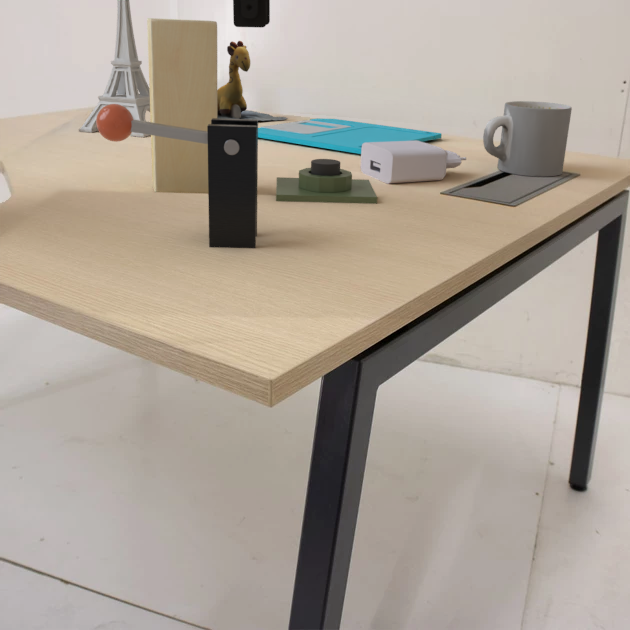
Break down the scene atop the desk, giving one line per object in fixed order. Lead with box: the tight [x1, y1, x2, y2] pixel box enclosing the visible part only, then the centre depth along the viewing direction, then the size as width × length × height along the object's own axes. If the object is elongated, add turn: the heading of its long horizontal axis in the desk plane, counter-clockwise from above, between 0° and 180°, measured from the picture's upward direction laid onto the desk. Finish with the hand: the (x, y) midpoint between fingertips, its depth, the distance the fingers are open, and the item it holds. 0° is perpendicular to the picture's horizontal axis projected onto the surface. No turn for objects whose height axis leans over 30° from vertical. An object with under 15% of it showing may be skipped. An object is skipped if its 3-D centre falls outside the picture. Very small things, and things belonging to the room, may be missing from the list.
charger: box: [360, 140, 467, 185], centre depth 117 cm, size 5×9×15 cm
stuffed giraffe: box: [217, 40, 289, 122], centre depth 168 cm, size 16×18×16 cm
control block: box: [275, 167, 378, 205], centre depth 99 cm, size 12×10×4 cm
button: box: [310, 158, 341, 176], centre depth 98 cm, size 4×4×2 cm
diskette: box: [258, 118, 442, 155], centre depth 149 cm, size 26×28×1 cm
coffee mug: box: [482, 100, 573, 178], centre depth 123 cm, size 13×10×10 cm
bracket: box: [207, 118, 259, 249], centre depth 76 cm, size 12×9×13 cm
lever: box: [96, 104, 208, 144], centre depth 74 cm, size 14×3×3 cm, turn 92°
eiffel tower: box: [78, 0, 151, 138], centre depth 145 cm, size 13×13×30 cm
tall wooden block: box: [146, 17, 218, 195], centre depth 100 cm, size 8×7×21 cm
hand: (252, 25), depth 83 cm, fingers open, 9 cm apart
